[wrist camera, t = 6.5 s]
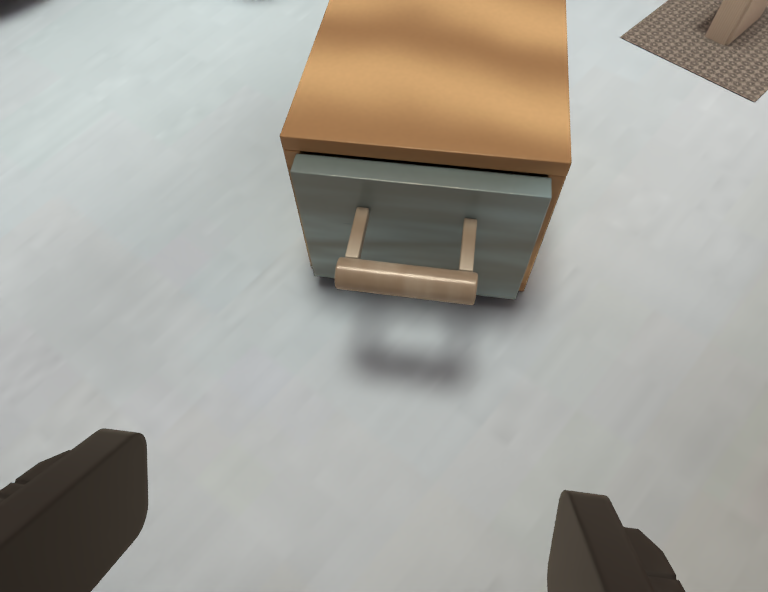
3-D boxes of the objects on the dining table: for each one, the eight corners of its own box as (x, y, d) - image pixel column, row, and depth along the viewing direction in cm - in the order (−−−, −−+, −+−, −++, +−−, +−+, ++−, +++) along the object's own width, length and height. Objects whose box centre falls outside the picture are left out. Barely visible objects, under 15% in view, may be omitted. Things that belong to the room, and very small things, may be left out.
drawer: (513, 371, 28) (552, 282, 21) (296, 342, 29) (263, 249, 22) (521, 132, 37) (550, 14, 30) (356, 117, 38) (347, 0, 31)
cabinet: (523, 291, 31) (571, 163, 23) (310, 266, 32) (279, 136, 24) (527, 120, 39) (565, -25, 30) (354, 105, 40) (343, -38, 31)
